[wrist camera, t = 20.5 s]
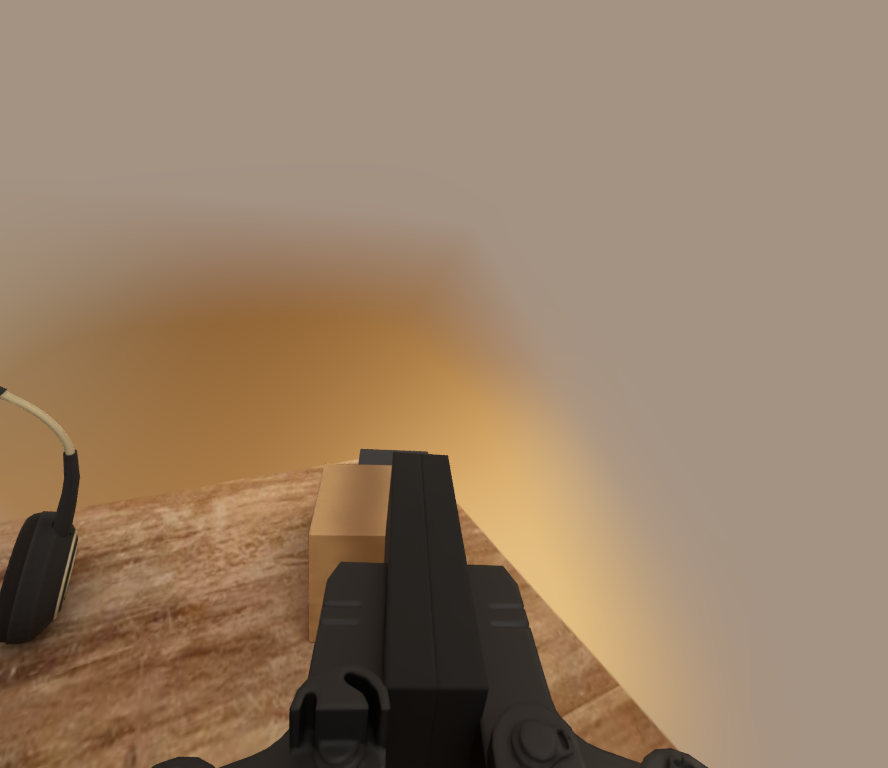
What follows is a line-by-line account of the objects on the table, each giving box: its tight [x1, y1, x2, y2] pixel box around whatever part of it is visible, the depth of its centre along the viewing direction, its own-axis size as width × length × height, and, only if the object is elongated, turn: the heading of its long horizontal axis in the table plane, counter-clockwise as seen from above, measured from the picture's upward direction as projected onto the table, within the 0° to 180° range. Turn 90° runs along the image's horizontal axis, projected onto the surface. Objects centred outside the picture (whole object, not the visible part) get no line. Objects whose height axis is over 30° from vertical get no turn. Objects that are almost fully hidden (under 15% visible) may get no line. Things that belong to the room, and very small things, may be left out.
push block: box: [309, 464, 392, 642], centre depth 38 cm, size 9×9×10 cm
